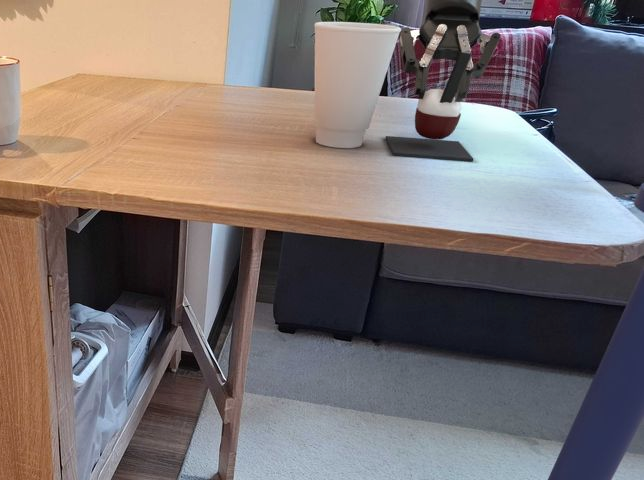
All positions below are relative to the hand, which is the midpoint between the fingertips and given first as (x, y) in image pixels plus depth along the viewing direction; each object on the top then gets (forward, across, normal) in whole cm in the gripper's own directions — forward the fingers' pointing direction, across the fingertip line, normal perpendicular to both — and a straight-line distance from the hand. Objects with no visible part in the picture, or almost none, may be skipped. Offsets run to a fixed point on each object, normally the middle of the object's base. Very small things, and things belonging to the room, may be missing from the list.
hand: (440, 96), depth 89 cm
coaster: (+4, 0, +7) cm, 8 cm away
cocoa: (+3, 0, +6) cm, 7 cm away
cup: (+5, -13, +6) cm, 15 cm away
